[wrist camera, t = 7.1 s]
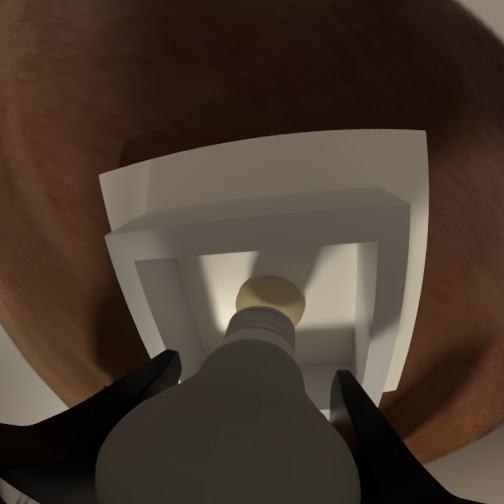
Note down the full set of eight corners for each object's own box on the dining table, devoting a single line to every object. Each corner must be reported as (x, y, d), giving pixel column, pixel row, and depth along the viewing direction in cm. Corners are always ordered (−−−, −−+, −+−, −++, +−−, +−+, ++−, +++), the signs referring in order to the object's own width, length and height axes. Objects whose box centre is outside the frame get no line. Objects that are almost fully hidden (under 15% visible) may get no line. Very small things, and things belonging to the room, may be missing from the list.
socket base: (391, 372, 14) (405, 428, 10) (183, 377, 17) (160, 427, 13) (410, 131, 9) (467, 130, 5) (116, 170, 12) (53, 188, 8)
